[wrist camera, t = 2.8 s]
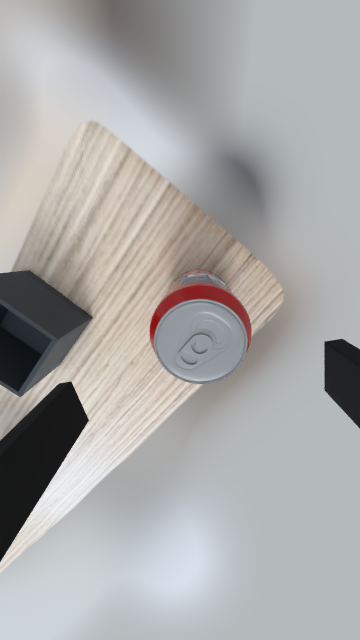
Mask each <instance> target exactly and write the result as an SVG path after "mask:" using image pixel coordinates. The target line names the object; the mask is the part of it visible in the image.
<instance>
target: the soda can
mask: <svg viewBox="0 0 360 640" xmlns="http://www.w3.org/2000/svg"><path fill="white" fill-rule="evenodd" d="M150 340H151V344H152V347H153V350H154V352H155V354H156V355H157V357H158V359H159V361H160V363H161V364H162V366H163V367H164V368H165V369H166V370H167V371H168V372H169V373H170V374H172V375H173V376H175V377H176V378H178V379H180V380H183V381H186V382H189V383H195V384H207V383H213V382H216V381H219V380H221V379H224V378H226V377H227V376H229V375H230V374H231V373H233V372H234V371H235V370H236V369H237V368H238V367H239V365H240V364H241V362H242V361H243V359H244V356H245V354H246V352H247V350H248V347H249V344H250V340H251V324H250V319H249V316H248V314H247V312H246V310H245V308H244V306H243V305H242V304H241V302H240V301H239V300H238V299H237V297H236V296H235V295H234V294H233V293H232V292H231V290H230V289H229V288H228V287H227V286H226V285H225V284H224V282H223V281H222V280H221V279H220V278H219V277H218V276H217V275H215V274H213V273H212V272H209V271H206V270H192V271H188V272H186V273H184V274H182V275H181V276H180V277H178V278H177V279H176V281H175V282H174V283H173V285H172V286H171V287H170V289H169V290H168V292H167V293H166V295H165V296H164V298H163V299H162V300H161V302H160V303H159V305H158V306H157V308H156V310H155V312H154V314H153V316H152V320H151V324H150Z"/></svg>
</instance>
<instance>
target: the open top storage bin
mask: <svg viewBox="0 0 360 640" xmlns="http://www.w3.org/2000/svg"><path fill="white" fill-rule="evenodd" d="M91 319H92V316H90V315H89V314H87V313H86V312H85V311H83V310H82V309H81V308H79V307H78V306H77V305H75V304H74V303H73V302H71V301H70V300H69V299H67V298H66V297H65V296H63V295H62V294H60V293H59V292H58V291H56V290H55V289H54V288H52V287H51V286H50V285H48V284H47V283H46V282H44V281H43V280H42V279H40V278H39V277H38V276H36V275H35V274H33V273H32V272H31V271H29V270H27V271H18V272H9V273H0V385H2V386H4V387H5V388H7V389H8V390H10V391H11V392H13V393H15V394H16V395H18V396H19V397H21V396H22V395H24V394H25V393H26V392H27V391H28V390H30V389H31V388H32V387H33V386H34V385H36V384H37V383H38V382H39V381H40V380H42V379H43V378H44V377H45V376H46V375H48V374H49V373H50V372H51V371H52V370H54V369H55V368H56V367H57V366H58V365H60V363H61V362H62V361H63V359H64V358H65V356H66V355H67V353H68V352H69V351H70V349H71V348H72V346H73V345H74V343H75V342H76V341H77V339H78V338H79V336H80V335H81V333H82V332H83V331H84V329H85V328H86V326H87V325H88V323H89V322H90V321H91Z"/></svg>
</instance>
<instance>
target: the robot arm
mask: <svg viewBox="0 0 360 640" xmlns="http://www.w3.org/2000/svg"><path fill="white" fill-rule="evenodd" d="M325 391H326V392H327V393H328V395H329V396H330V397H331V398H332V399H333V400H334V401H335V402H336V403H337V404H338V405H339V406H340V407H341V408H342V410H343V411H344V412H345V413H346V414H347V415H348V416H349V417H350V418H351V419H352V420H353V421H354V423H355V424H356V425H357V426H358V427H359V428H360V349H358V348H357V347H355V346H353V345H352V344H350V343H348V342H347V341H345V340H343V339H339V340H332V341H326V342H325ZM88 421H89V420H88V418H87V415H86V413H85V411H84V409H83V406H82V404H81V402H80V400H79V398H78V395H77V393H76V391H75V389H74V387H73V384H72V382H66V383H60V384H58V385H57V386H56V387H55V388H54V389H53V390H52V391H51V392H50V393H49V394H48V395H47V396H46V397H45V398H44V399H43V400H42V401H41V402H40V403H39V404H38V405H37V406H36V407H34V408H33V409H32V410H31V411H30V412H29V413H28V414H27V415H26V416H25V417H24V418H23V419H22V420H21V421H20V422H19V423H18V424H17V425H16V426H15V427H14V428H13V429H12V430H11V431H10V432H9V433H8V434H7V435H6V436H5V437H4V438H3V439H2V440H1V441H0V561H1V560H2V558H3V557H4V555H5V553H6V552H7V550H8V549H9V547H10V545H11V544H12V542H13V541H14V539H15V537H16V536H17V534H18V533H19V531H20V529H21V528H22V526H23V525H24V523H25V521H26V520H27V518H28V517H29V515H30V513H31V512H32V510H33V509H34V507H35V505H36V504H37V502H38V501H39V499H40V498H41V496H42V494H43V493H44V491H45V490H46V488H47V486H48V485H49V483H50V482H51V480H52V478H53V477H54V475H55V474H56V472H57V470H58V469H59V467H60V466H61V464H62V462H63V461H64V459H65V458H66V456H67V454H68V453H69V451H70V450H71V448H72V446H73V445H74V443H75V442H76V440H77V438H78V437H79V435H80V434H81V432H82V430H83V429H84V427H85V426H86V424H87V422H88Z"/></svg>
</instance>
